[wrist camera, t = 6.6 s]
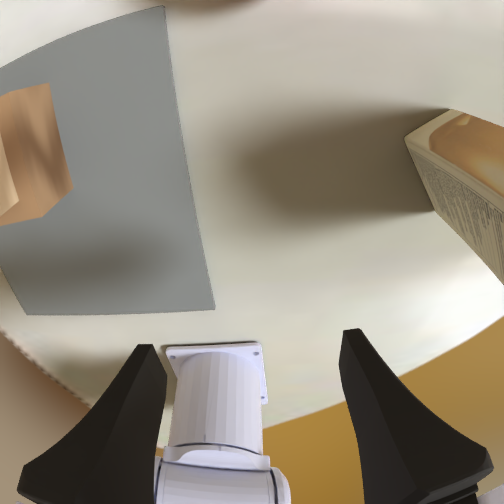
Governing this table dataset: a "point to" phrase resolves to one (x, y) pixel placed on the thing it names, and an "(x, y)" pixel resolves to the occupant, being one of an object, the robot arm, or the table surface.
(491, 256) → the skincare box
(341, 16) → the table surface
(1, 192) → the birch block
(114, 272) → the mat
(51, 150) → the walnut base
